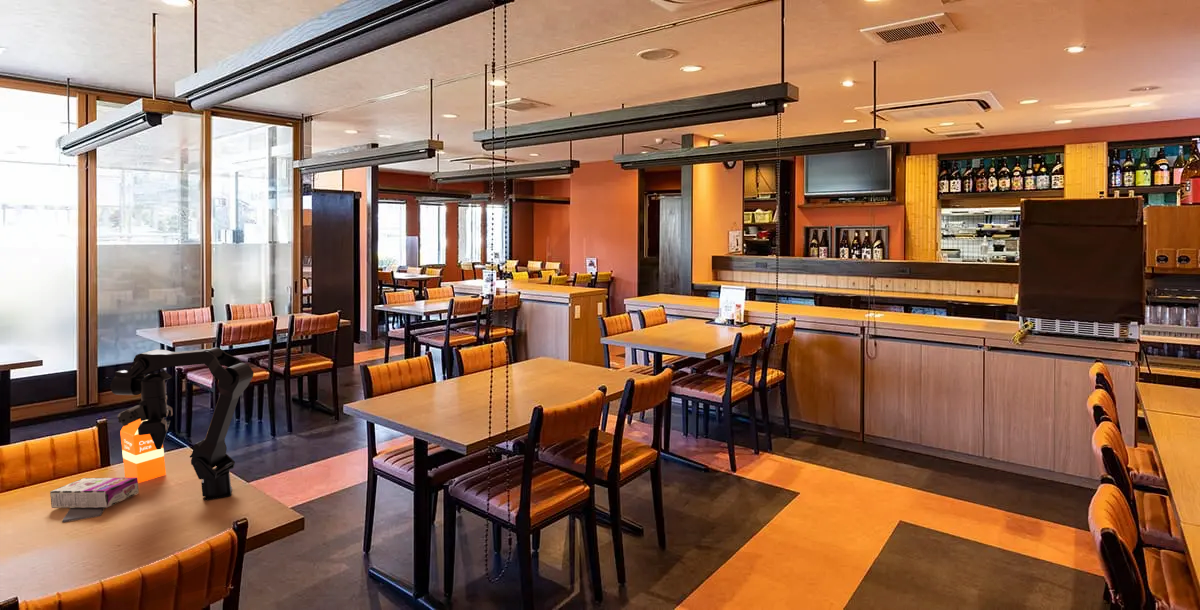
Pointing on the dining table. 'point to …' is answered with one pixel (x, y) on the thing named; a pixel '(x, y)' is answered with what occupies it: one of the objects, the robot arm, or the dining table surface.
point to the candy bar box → (94, 492)
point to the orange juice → (141, 454)
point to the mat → (82, 513)
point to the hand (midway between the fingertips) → (159, 448)
